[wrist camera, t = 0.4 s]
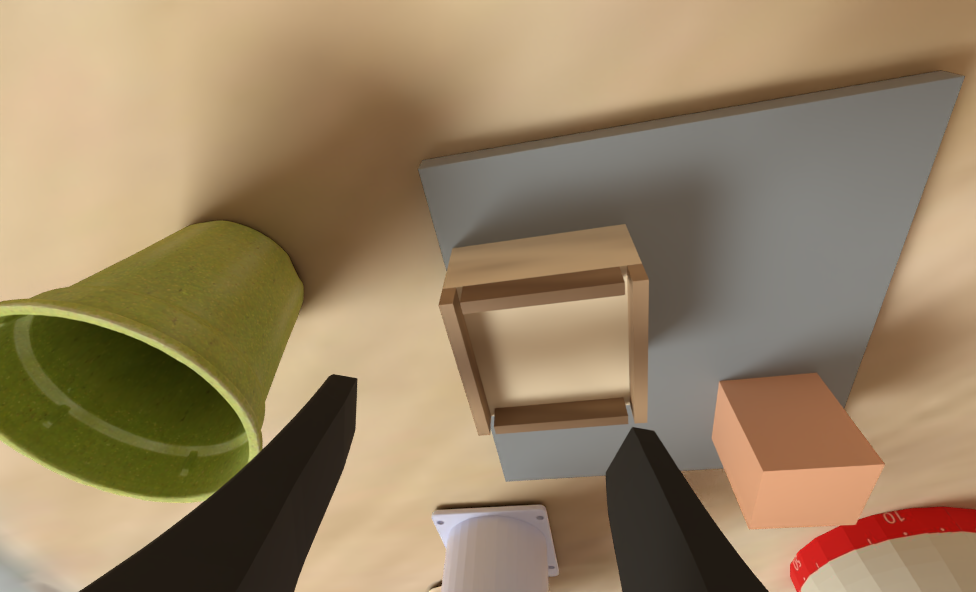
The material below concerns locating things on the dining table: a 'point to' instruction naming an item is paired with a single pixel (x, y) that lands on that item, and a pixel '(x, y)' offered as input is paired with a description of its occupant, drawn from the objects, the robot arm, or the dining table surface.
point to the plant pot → (152, 364)
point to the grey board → (717, 242)
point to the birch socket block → (550, 330)
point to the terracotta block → (792, 452)
